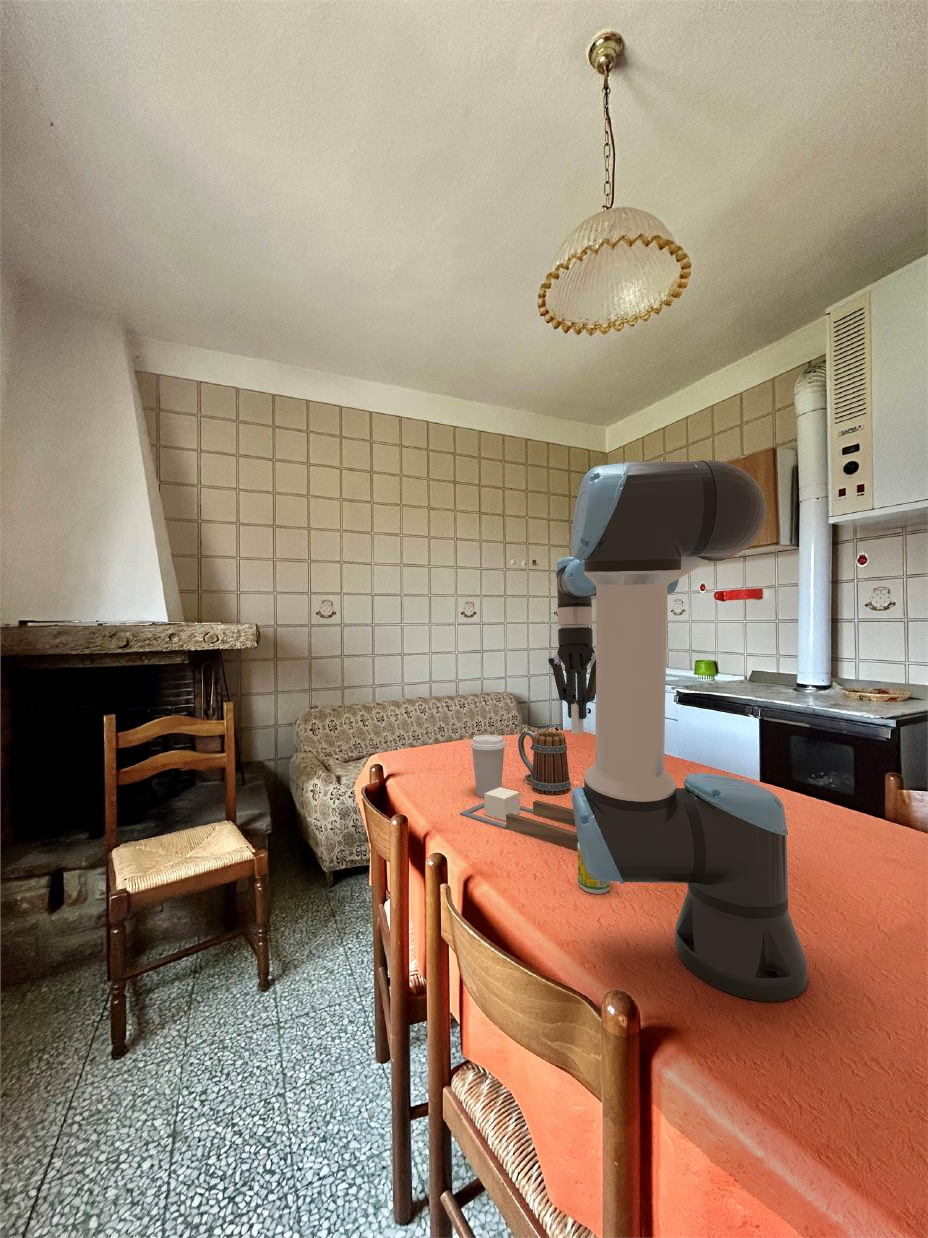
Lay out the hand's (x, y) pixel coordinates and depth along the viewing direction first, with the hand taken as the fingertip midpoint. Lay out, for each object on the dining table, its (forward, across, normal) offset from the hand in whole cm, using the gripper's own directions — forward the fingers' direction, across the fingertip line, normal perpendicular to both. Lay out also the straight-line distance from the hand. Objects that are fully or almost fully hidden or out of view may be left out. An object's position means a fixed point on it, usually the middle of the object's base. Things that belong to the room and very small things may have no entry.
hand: (577, 733), depth 109 cm
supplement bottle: (+22, -13, +21) cm, 33 cm away
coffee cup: (+20, +29, -6) cm, 36 cm away
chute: (+21, +2, +4) cm, 21 cm away
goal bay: (+21, +19, +4) cm, 28 cm away
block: (+21, +18, +4) cm, 28 cm away
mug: (+20, +21, -20) cm, 35 cm away
